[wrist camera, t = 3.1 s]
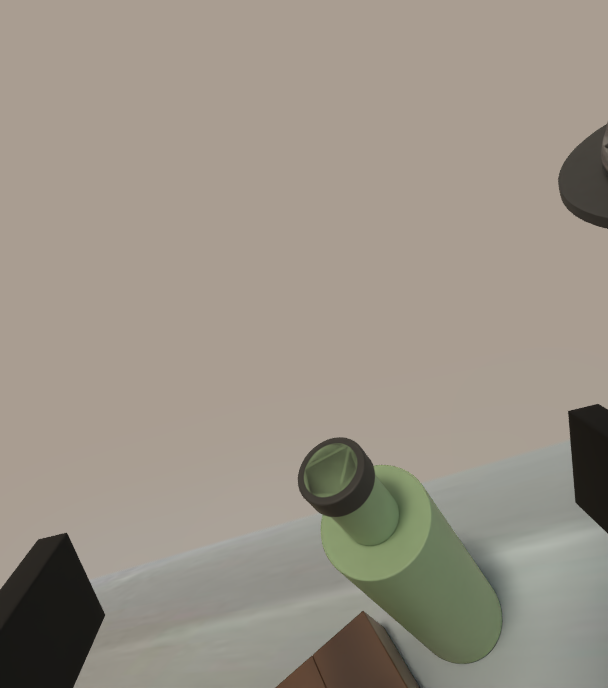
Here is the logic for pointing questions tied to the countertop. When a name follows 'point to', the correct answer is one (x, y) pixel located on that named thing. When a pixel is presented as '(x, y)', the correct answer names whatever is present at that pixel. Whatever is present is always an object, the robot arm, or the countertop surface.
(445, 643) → the bottle
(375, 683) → the hole board
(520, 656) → the countertop surface
